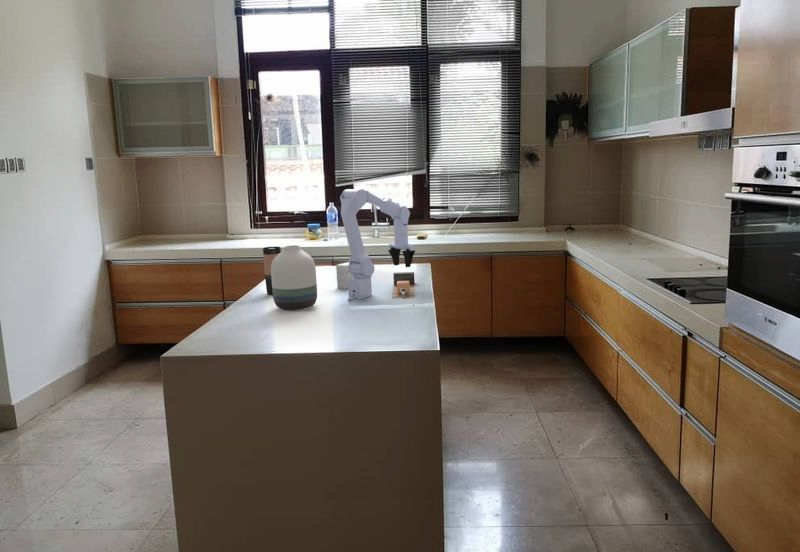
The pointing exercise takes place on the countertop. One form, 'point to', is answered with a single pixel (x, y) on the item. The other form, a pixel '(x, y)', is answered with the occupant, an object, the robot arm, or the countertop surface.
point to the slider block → (403, 286)
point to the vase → (293, 279)
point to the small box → (343, 275)
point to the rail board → (403, 292)
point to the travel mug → (269, 265)
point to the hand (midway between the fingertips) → (402, 266)
